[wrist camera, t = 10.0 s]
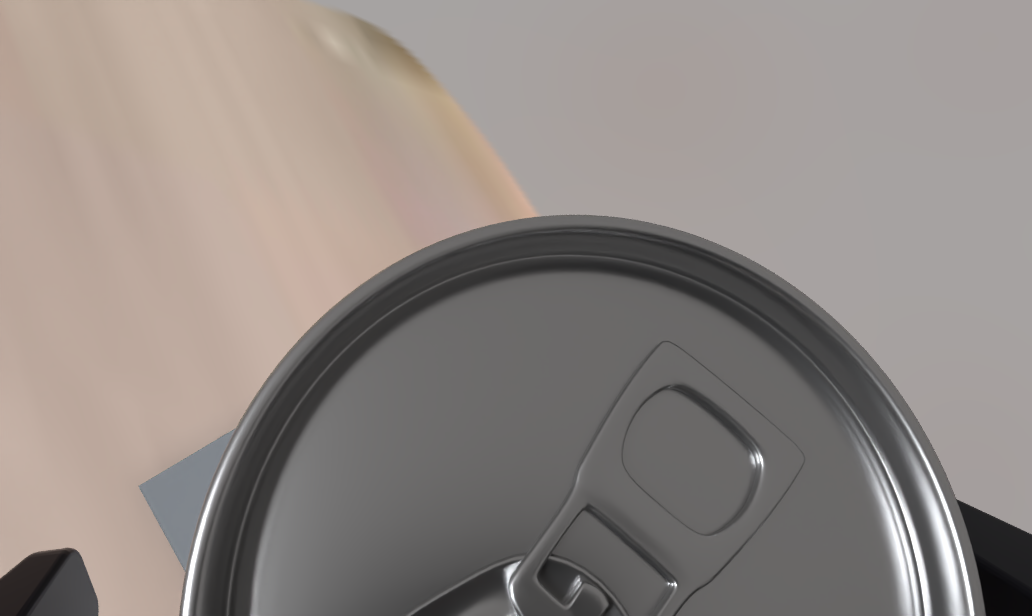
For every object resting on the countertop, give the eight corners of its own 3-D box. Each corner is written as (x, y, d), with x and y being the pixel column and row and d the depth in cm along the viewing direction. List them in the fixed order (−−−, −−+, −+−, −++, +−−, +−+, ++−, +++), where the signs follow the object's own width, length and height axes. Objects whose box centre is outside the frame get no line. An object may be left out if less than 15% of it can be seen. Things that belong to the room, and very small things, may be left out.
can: (263, 567, 15) (-164, 673, 4) (456, 358, 17) (548, 29, 6) (481, 773, 14) (745, 1632, 3) (652, 530, 17) (1171, 525, 5)
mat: (724, 595, 17) (731, 597, 16) (373, 904, 14) (372, 914, 13) (499, 275, 19) (501, 270, 18) (144, 487, 16) (138, 485, 15)
